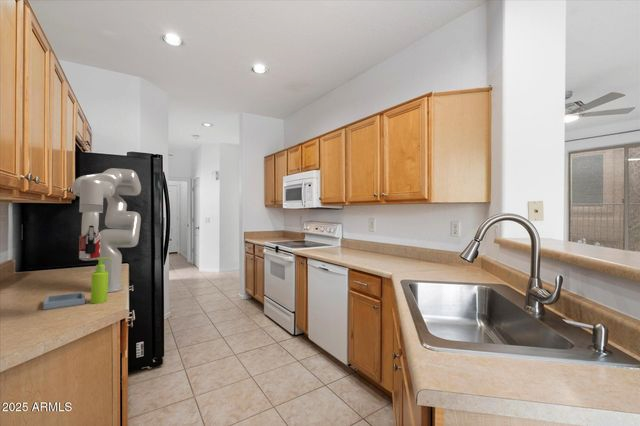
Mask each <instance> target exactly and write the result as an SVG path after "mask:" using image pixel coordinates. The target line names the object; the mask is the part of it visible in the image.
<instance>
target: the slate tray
mask: <svg viewBox="0 0 640 426" xmlns="http://www.w3.org/2000/svg"><path fill="white" fill-rule="evenodd" d="M85 304H86V297H85V292H84V291H81V292H73V293H65V294H64V293H63V294H56V295H48V296H45V298H44V301H43V309H42V311H47V310H56V309H62V308H63V309H64V308H69V307H76V306H77V307H78V306H83V305H85Z"/></svg>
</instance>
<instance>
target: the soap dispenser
mask: <svg viewBox="0 0 640 426" xmlns="http://www.w3.org/2000/svg"><path fill="white" fill-rule="evenodd" d="M103 259H110V260H111V259H112V258H108V257H102V258H97V259H96V261H97V260H98V264H96V265H95V272H92V273H91V287H90V289H91V290H90V304H93V305H94V304H96V305H98V304H103V303H106V302H108V293H109V292H108V272H105V265H104V264H103Z"/></svg>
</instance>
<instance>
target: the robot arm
mask: <svg viewBox="0 0 640 426" xmlns="http://www.w3.org/2000/svg"><path fill="white" fill-rule="evenodd" d="M141 184H142V183H141V182H140V179H139V176H138V174H137V172H136V171H134V169H130V168H129V169H126V168H115V167H114V168H113V167H112V168H108V169H106V170H104V171H103V172H102V173H93V174H85V175H81V176H79V177H77V178H76V179H75V180H74V181H73V183H72V186H71V189H72V190H71V191H72V192H73V194H74V195H75V196H76V197H79V209H78V211H79V213H82V215H81V230H80V231H81V233H82V237H84V235H86V244H85V254H92V253H95V247H96V243H95V237H96V236H97V234H98V230H99V222H100V221H99V220H100V213H101V214H102V213H104V199H106V202H107V209H106V214H105V218H104V219H105V220H104V224H105V227H107V228H105V229H103V230H100V232H99V233H100V235H101V239H100V258H102V257H108V258H112V259H111V260H110V259H103V264H104V265H105V272H108V292H107V293H113V292H119V291H122V290H124V289H125V285H123V284H122V266H123V265H122V262H123V257H122V256H123V255H122V253H121V251H120V250H119V249H118V248H133V247H136V246H138V244H139V238H140V231H141V224H142V223H141V221H142V218H141V214H140V213H139V212H137V211H129V210H128V211H127V208H128V204H127V202H126V201H125V199H124V198H123V197H122V196H138V195H140V193H141V191H142V185H141ZM81 233H80V234H81ZM95 233H96V236H95ZM88 235H89V236H88ZM93 235H94V236H93Z"/></svg>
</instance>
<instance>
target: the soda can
mask: <svg viewBox="0 0 640 426" xmlns="http://www.w3.org/2000/svg"><path fill="white" fill-rule="evenodd" d="M99 231H100V230H99V229H98V234H97V236H96V233H95V236H96V237H95V243H96V247H95V253H92V254H85V244H86V235H84V237H82V233H80V234H79V240H78V241H79V242H78V243H79V244H78V259H79V260H81V261H87V262H88V261H97V258H100V239H101V235H100V232H99ZM88 236H89V235H88ZM93 236H94V235H93Z"/></svg>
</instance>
